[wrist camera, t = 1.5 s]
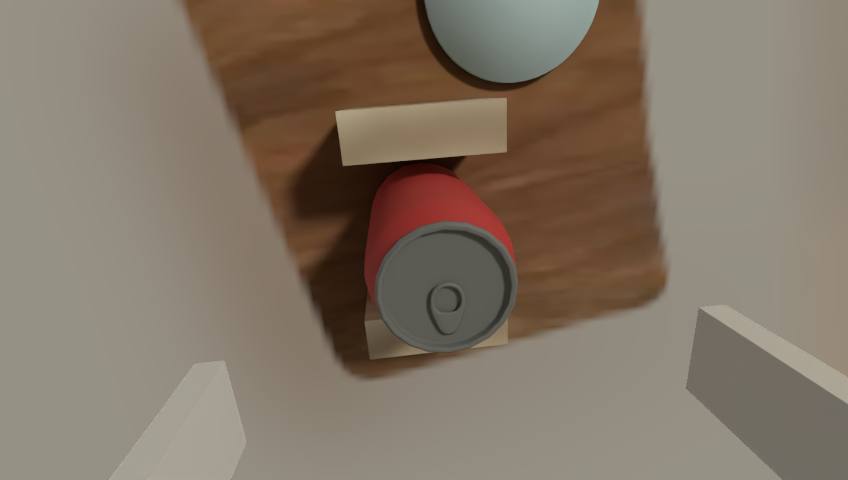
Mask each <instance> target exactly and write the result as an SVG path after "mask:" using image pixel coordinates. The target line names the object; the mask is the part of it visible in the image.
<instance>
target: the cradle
mask: <svg viewBox="0 0 848 480" xmlns="http://www.w3.org/2000/svg"><path fill="white" fill-rule="evenodd" d="M335 113H336V120H337V127H338V134H339V141H340V149H341V156H342V163H343V166H349V165H361V164H373V163H384V162H396V161H407V160H419V159H431V158H442V157H454V156H465V155H477V154H489V153H500V152H507V99H506V98H479V99H466V100H454V101H441V102H428V103H415V104H402V105H390V106H377V107H364V108H351V109H344V110H340V111H335ZM364 322H365V329H366V336H367V343H368V351H369V358H370V359H379V358H388V357H397V356H406V355H414V354H423V353H432V352H427V351H424V350H421V349H418V348H414V347H411V346H409V345H407V344H406V343H404V342H403V341H402V340H400V339H399V338H397V337H396V336H394V335H393V334H392V333H391V332H390V330H389V329H388V327H387V326H386V325H385V323H384V322H383V321H382V319H381V318H380V315H379V312H378V309H377V308H376V307H375V305H374V304H373V302H372V300H371V297H370V294H369V291H367V301H366V310H365V320H364ZM502 344H508V318H507V319H506V321H505V323H504V324H503V325H502V326H501V327H500V328H499V329H498V330H497V331H496V332H495V333H494V334H493V335H492V336H491V337H490V338H488V339H486V340H484V341H482V342H481V343H479V344H477V345H475V346H473V347H472V348H476V347H485V346H493V345H502Z"/></svg>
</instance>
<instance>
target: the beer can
mask: <svg viewBox="0 0 848 480" xmlns="http://www.w3.org/2000/svg"><path fill="white" fill-rule="evenodd" d="M364 277H365V281H366V284H367V287H368V291H369V294H370V297H371V300H372V302H373V304H374V305H375V307H376V308H377V309H378V312H379V315H380V318H381V319H382V321H383V322H384V323H385V325H386V326H387V327H388V329H389V330H390V332H391V333H392V334H393V335H394V336H396V337H397V338H399V339H400V340H402V341H403V342H404V343H406V344H407V345H409V346H411V347H414V348H418V349H421V350H424V351H427V352H440V353H452V352H456V351H460V350H464V349H468V348H472V347H473V346H475V345H477V344H479V343H481V342H482V341H484V340H486V339H488V338H490V337H491V336H492V335H493V334H494V333H495V332H496V331H497V330H498V329H499V328H500V327H501V326H502V325H503V324H504V323H505V321H506V319H507V318H508V316H509V314H510V312H511V310H512V308H513V307H514V305H515V300H516V295H517V289H518V278H517V272H516V264H515V258H514V252H513V246H512V242H511V239H510V237H509V235H508V234H507V232H506V230H505V228H504V226H503V225H502V223H501V221H500V220H499V219H498V218H497V217H496V216H495V215H494V213H493V212H492V211H491V210H490V209H489V208H488V207H487V206H486V205H485V204H484V203H483V202H482V201H481V200H480V199H479V197H478V196H477V195H476V194H475V193H474V192H473V191H472V190H471V189H470V188H469V187H468V186H467V185H466V184H465V183H464V182H463V181H462V180H461V179H460V178H459V177H458V176H457V175H456V174H455V173H453V172H452V171H451V170H449V169H447V168H445V167H442V166H440V165H437V164H431V163H415V164H411V165H407V166H403V167H401V168H400V169H398V170H397V171H395V172H393V173H392V174H390V175H389V176H388V177H387V178H386V179H385V181H384V182H383V183H382V184H381V185H380V187H379V188H378V190H377V193H376V195H375V198H374V200H373V203H372V210H371V217H370V224H369V231H368V238H367V245H366V252H365V268H364Z"/></svg>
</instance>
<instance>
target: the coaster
mask: <svg viewBox="0 0 848 480" xmlns="http://www.w3.org/2000/svg"><path fill="white" fill-rule="evenodd" d="M424 3H425V9H426V13H427V18H428V21H429V24H430V26H431V29H432V32H433V34H434V36H435V38H436V39H437V41H438V43H439V45H440V46H441V48H442V49H443V50H444V52H445V53H446V54H447V55H448V56H449V58H450V59H451V60H452V61H453V62H454V63H456V64H457V65H458V66H459V67H460V68H462V69H463V70H465V71H466V72H468V73H469V74H471V75H473V76H476V77H478V78H480V79H484V80H487V81H490V82H498V83H514V82H521V81H526V80H530V79H533V78H536V77H539V76H541V75H543V74H545V73H547V72H549V71H550V70H552V69H554V68H555V67H557V66H558V65H559V64H560V63H562V62H563V61H564V60H565V59H566V58H567V57H568V56H569V55H570V54H571V53H572V52H573V51H574V50H575V49H576V47H577V46H578V45H579V44H580V42H581V41H582V39H583V38H584V36H585V34H586V33H587V31H588V29H589V27H590V25H591V23H592V21H593V18H594V16H595V13H596V10H597V7H598V3H599V0H424Z"/></svg>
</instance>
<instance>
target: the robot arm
mask: <svg viewBox="0 0 848 480" xmlns="http://www.w3.org/2000/svg"><path fill="white" fill-rule="evenodd" d="M686 389H687V390H688V391H689V392H691V393H692V394H693V395H694V396H695V397H696V398H697V399H698V400H699V401H700V402H701V403H702V404H703V405H704V406H705V407H706V408H707V409H708V410H710V411H711V412H712V413H713V414H714V415H715V416H716V417H717V418H718V419H719V420H720V421H721V422H722V423H723V424H724V425H726V427H727V428H729V429H730V430H731V431H732V432H733V433H734V434H735V435H736V436H737V437H738V438H739V439H740V440H741V441H742V442H743V443H744V444H746V446H748V447H749V448H750V449H751V450H752V451H753V452H754V453H755V454H756V455H757V456H758V457H759V458H760V459H761V460H762V461H764V463H765V464H767V465H768V466H769V467H770V468H771V469H772V470H773V471H774V472H775V473H776V474H777V475H778V476H779V477H780V478H781V479H782V480H848V377H846V376H845V375H843V374H841V373H840V372H838V371H836V370H834V369H833V368H831V367H830V366H828V365H826V364H824V363H823V362H821V361H819V360H818V359H816V358H814V357H813V356H811V355H809V354H808V353H806V352H804V351H802V350H801V349H799V348H797V347H796V346H794V345H792V344H791V343H789V342H787V341H785V340H784V339H782V338H780V337H779V336H777V335H775V334H774V333H772V332H770V331H769V330H767V329H765V328H763V327H762V326H760V325H758V324H757V323H755V322H753V321H752V320H750V319H748V318H746V317H745V316H743V315H741V314H740V313H738V312H736V311H734V310H733V309H731V308H730V307H728V306H726V305H717V306H708V307H699V310H698V316H697V324H696V329H695V336H694V342H693V348H692V354H691V360H690V367H689V373H688V379H687V386H686ZM246 443H247V442H246V439H245V435H244V431H243V427H242V424H241V420H240V417H239V413H238V409H237V405H236V402H235V398H234V394H233V391H232V387H231V383H230V379H229V376H228V372H227V369H226V365H225V361H216V362H207V363H199V364H194V365H193V367H192V368H191V369H190V371H189V372H188V373H187V375H186V376H185V378H184V379H183V380H182V381H181V383H180V384H179V385H178V387H177V388H176V389H175V391H174V392H173V394H172V395H171V396H170V398H169V399H168V400H167V402H166V403H165V404H164V406H163V407H162V408H161V410H160V411H159V413H158V414H157V415H156V416H155V418H154V419H153V420H152V422H151V423H150V424H149V426H148V427H147V428H146V430H145V431H144V433H143V434H142V435H141V437H140V438H139V439H138V440H137V442H136V443H135V444H134V446H133V447H132V448H131V450H130V451H129V453H128V454H127V455H126V457H125V458H124V459H123V461H122V462H121V463H120V465H119V466H118V467H117V469H116V470H115V471H114V473H113V474H112V475H111V477H110V478H109V479H108V480H231V479H232V476H233V474H234V472H235V469H236V467H237V464H238V462H239V460H240V457H241V455H242V452H243V450H244V447H245V445H246Z"/></svg>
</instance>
